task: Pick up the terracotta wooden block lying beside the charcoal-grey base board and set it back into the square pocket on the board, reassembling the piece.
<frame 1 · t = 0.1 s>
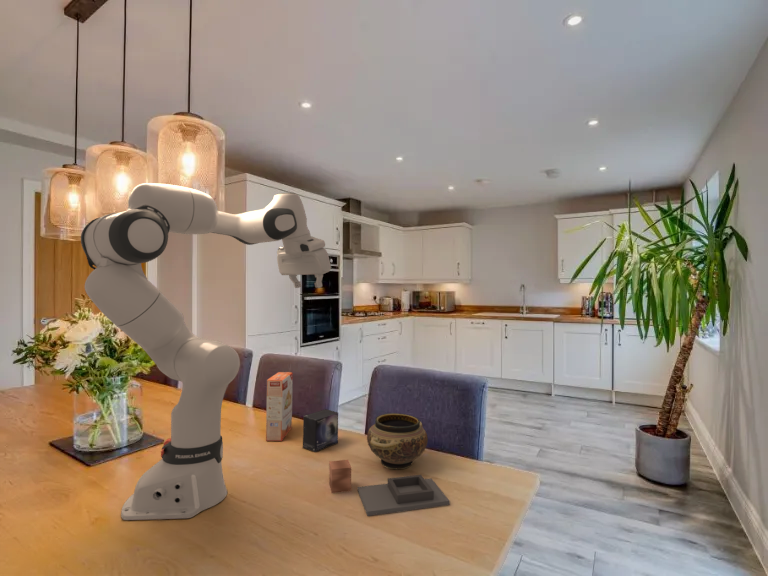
hand: (308, 287, 131), 52 cm above the table, tool tilted 20°, fingers open, 8 cm apart
cracker box: (279, 435, 145), on the table
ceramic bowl: (397, 463, 121), on the table
small box: (320, 446, 135), on the table
base board: (402, 497, 101), on the table
terracotta block: (340, 487, 106), on the table
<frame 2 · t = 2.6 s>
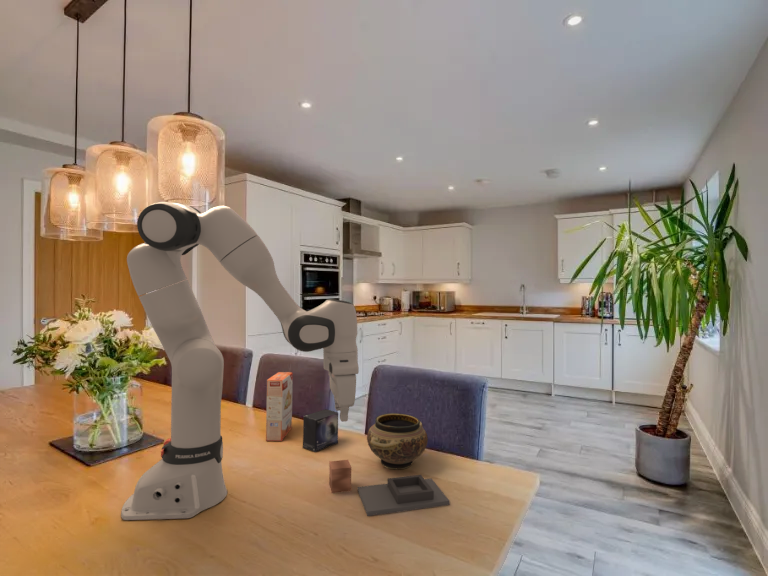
hand: (341, 415, 106), 19 cm above the table, tool pointing down, fingers open, 8 cm apart
nothing on the table moved.
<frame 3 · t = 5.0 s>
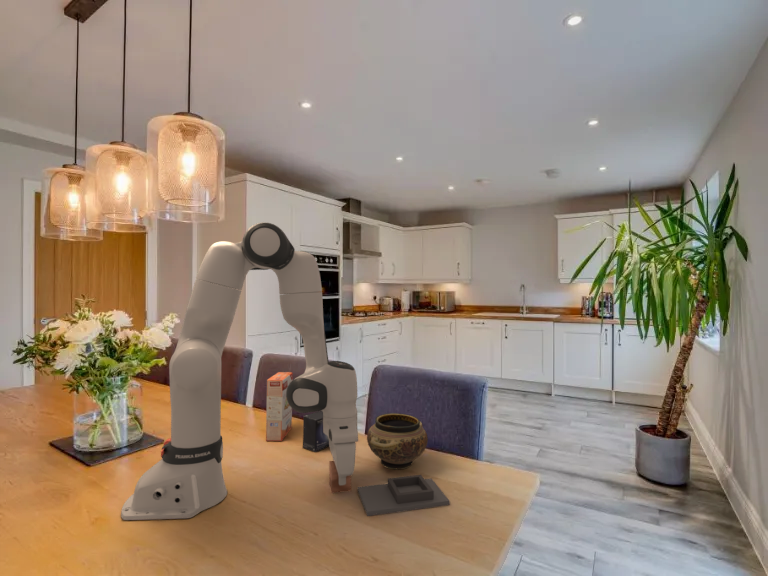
hand: (340, 478, 106), 2 cm above the table, tool pointing down, fingers closed on terracotta block, 5 cm apart
terracotta block: (340, 487, 106), on the table, touching gripper
everything else where it was.
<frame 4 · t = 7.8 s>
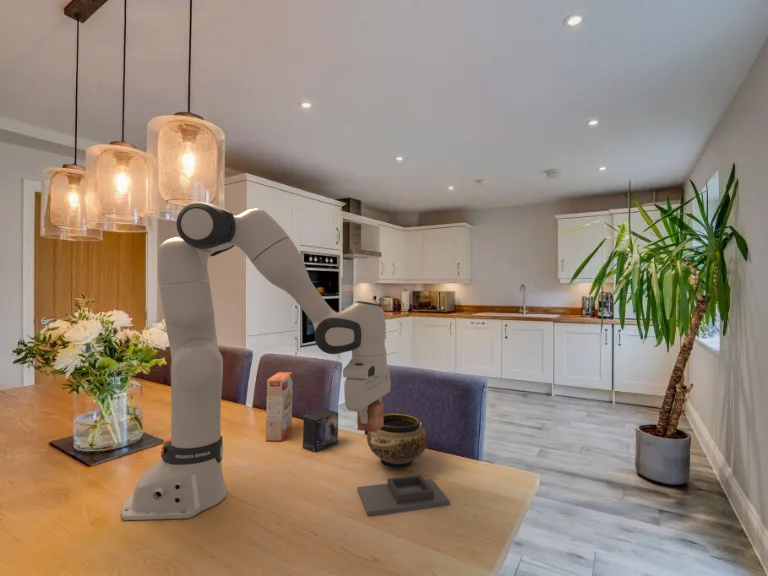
hand: (370, 418, 105), 18 cm above the table, tool pointing down, fingers closed on terracotta block, 5 cm apart
terracotta block: (370, 427, 105), point 16 cm above the table, touching gripper
everything else where it was.
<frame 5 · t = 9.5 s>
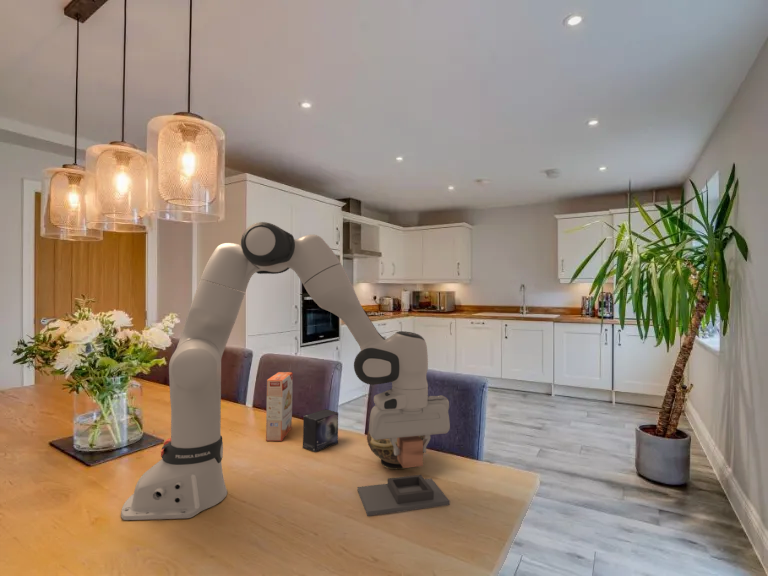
hand: (409, 453, 101), 11 cm above the table, tool pointing down, fingers closed on terracotta block, 5 cm apart
terracotta block: (409, 462, 101), point 8 cm above the table, touching gripper
everything else where it was.
when the fingers open (6 cm above the table, at t = 10.9 s): terracotta block drops 3 cm, resting on base board.
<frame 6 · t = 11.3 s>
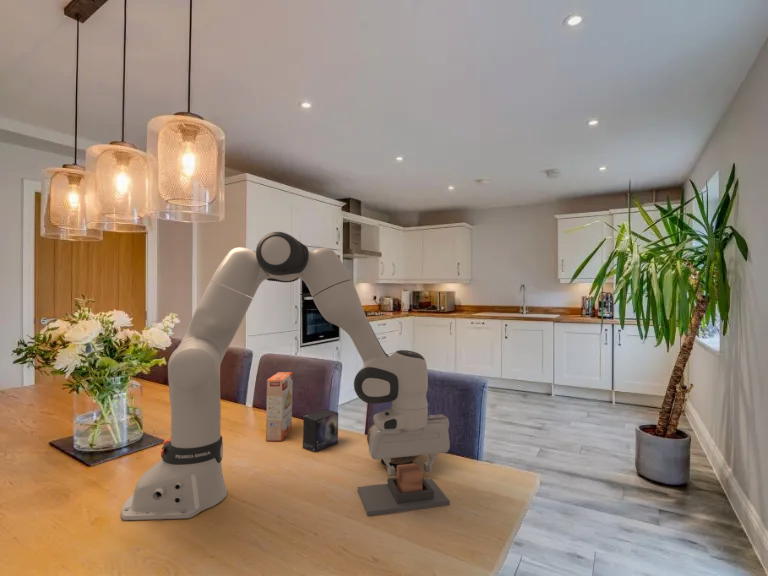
hand: (409, 472, 101), 6 cm above the table, tool pointing down, fingers open, 8 cm apart
terracotta block: (409, 492, 101), point 1 cm above the table, touching base board
everything else where it was.
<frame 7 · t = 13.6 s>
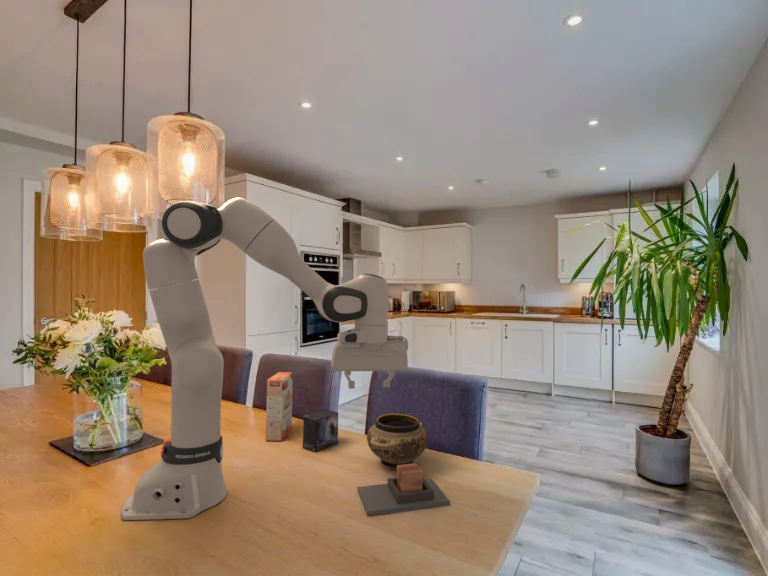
hand: (369, 387, 108), 25 cm above the table, tool pointing down, fingers open, 8 cm apart
nothing on the table moved.
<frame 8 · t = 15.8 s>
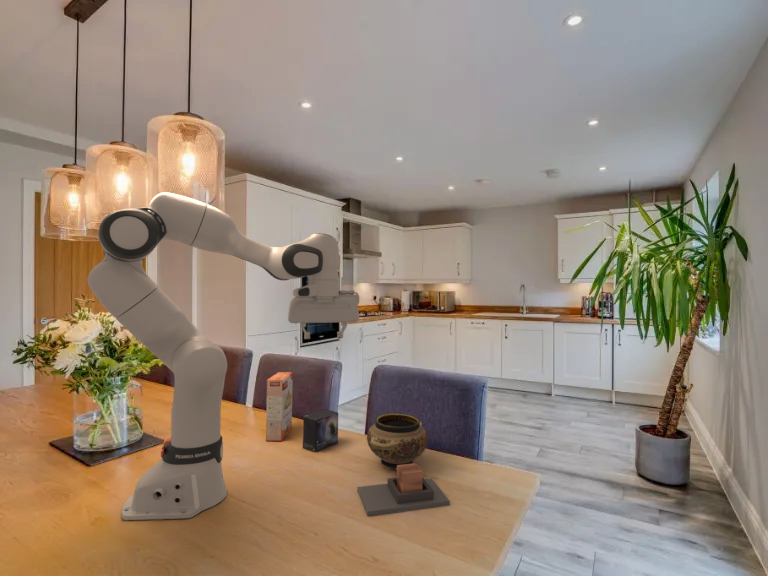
hand: (323, 338, 118), 37 cm above the table, tool pointing down, fingers open, 8 cm apart
nothing on the table moved.
at the end: terracotta block 0.1 cm from the target spot on the base board, point 1.0 cm above the base board's base; terracotta block tilted 0°; the gripper is holding nothing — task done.
